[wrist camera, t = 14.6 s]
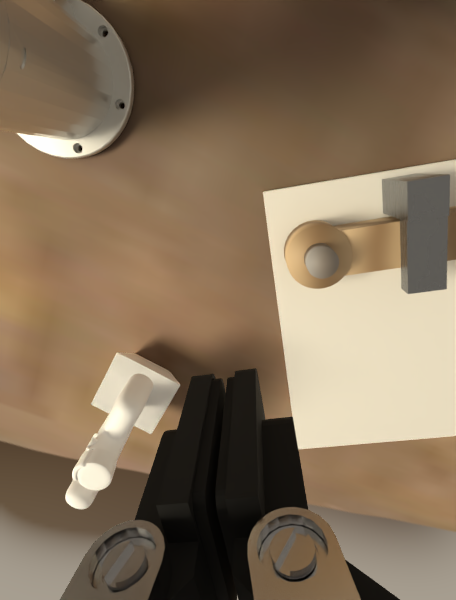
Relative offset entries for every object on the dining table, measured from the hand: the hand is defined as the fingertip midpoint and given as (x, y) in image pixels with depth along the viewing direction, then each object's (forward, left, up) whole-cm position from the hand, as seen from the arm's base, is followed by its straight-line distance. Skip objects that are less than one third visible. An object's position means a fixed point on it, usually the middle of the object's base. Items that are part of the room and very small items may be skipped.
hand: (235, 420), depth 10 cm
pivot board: (+11, +17, -29) cm, 35 cm away
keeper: (+1, +14, -28) cm, 31 cm away
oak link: (+2, +16, -27) cm, 32 cm away
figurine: (+14, -14, -29) cm, 35 cm away
